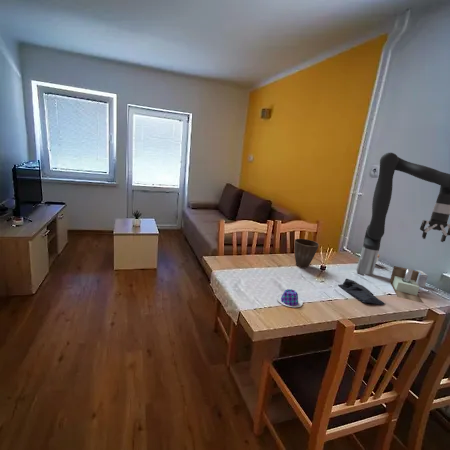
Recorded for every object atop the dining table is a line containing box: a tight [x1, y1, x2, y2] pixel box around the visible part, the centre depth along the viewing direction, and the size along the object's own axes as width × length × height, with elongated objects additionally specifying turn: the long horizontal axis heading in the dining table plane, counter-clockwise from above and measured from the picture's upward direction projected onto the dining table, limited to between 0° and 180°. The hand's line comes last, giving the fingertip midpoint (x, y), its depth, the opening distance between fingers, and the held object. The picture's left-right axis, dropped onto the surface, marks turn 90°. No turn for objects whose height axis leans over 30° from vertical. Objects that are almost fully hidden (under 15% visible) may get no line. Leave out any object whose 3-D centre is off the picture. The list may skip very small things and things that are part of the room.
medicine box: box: [414, 269, 429, 288], centre depth 162 cm, size 8×4×9 cm, turn 168°
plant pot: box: [293, 238, 320, 269], centre depth 172 cm, size 15×15×16 cm
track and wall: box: [389, 265, 425, 304], centre depth 148 cm, size 12×22×11 cm, turn 158°
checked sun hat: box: [276, 288, 304, 308], centre depth 125 cm, size 12×12×5 cm
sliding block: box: [393, 276, 420, 295], centre depth 152 cm, size 10×10×5 cm
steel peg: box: [403, 268, 414, 283], centre depth 151 cm, size 3×3×12 cm
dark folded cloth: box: [337, 278, 386, 306], centre depth 141 cm, size 15×22×5 cm
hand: (432, 240), depth 151 cm, fingers open, 8 cm apart
